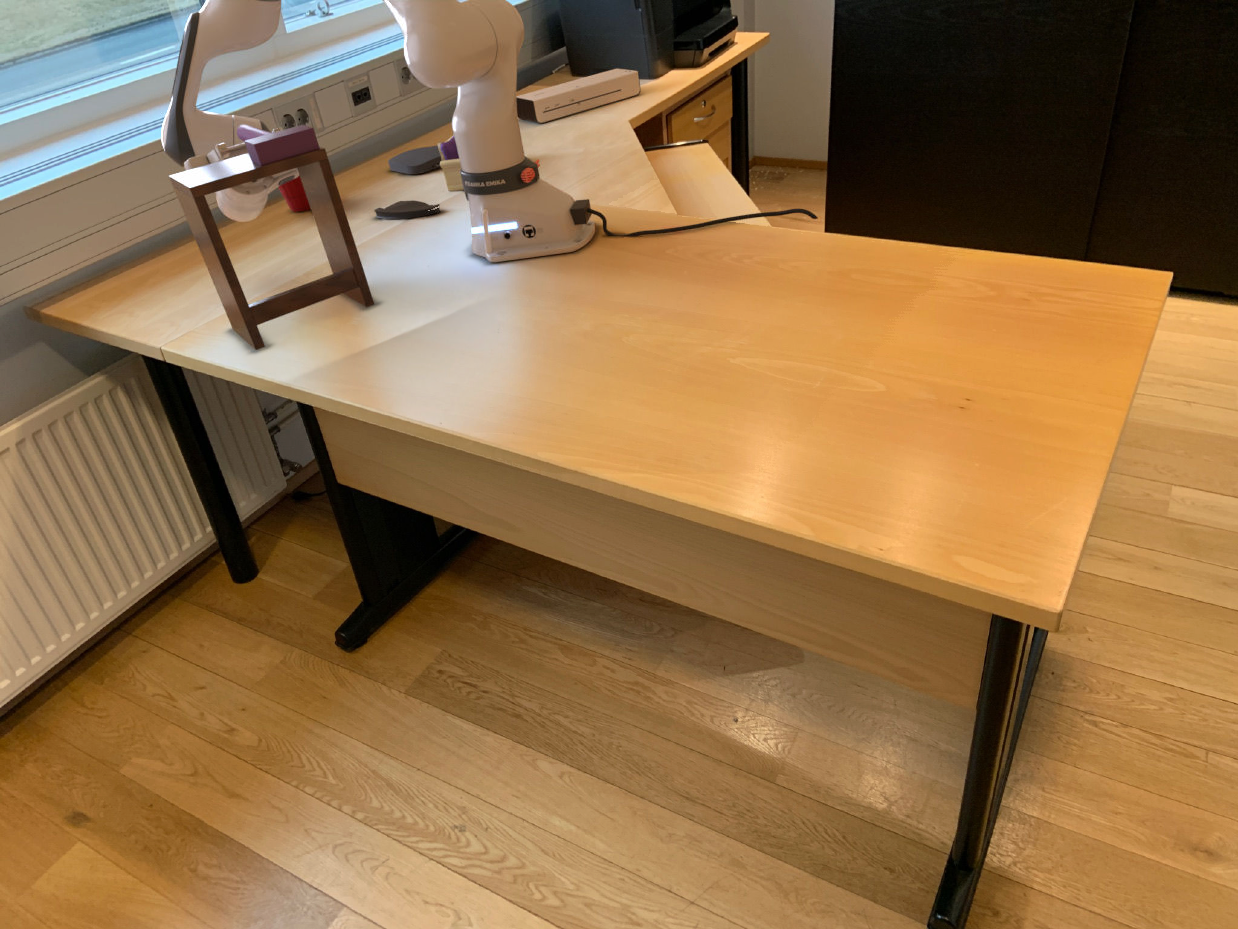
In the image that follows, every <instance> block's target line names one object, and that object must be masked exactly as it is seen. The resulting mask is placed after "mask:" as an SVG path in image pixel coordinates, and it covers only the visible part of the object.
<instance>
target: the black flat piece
mask: <svg viewBox="0 0 1238 929" xmlns="http://www.w3.org/2000/svg"><path fill="white" fill-rule="evenodd" d="M438 206H439V208H437V209H435V210H431V209H433V208H435V207H438ZM428 210H430V211H428ZM373 211H374V213H375V215H376V218H377V219H383V220H407V219H414V218H419V217H425V216H429V215H435V214H439V213H441V209H440V203H437V204H434V205H433V204H428V203H426V202H423V201H421V200H420V201H419V200H413V199H412V200H399V201H397V202H394V203H392V204H390V205H388V206H387V207H385V208H384V207H377V208H375V209H374V210H373Z"/></svg>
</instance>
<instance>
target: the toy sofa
mask: <svg viewBox="0 0 1238 929" xmlns="http://www.w3.org/2000/svg"><path fill="white" fill-rule="evenodd" d="M437 145H438V149H439V152H440V155H441V158H442V161H440V166H441V167H440V168H441V169H442V172H443V176H444V179H445V183H446V186H447V190H448V192H456V191H464V189H463V185H462V179H461V174H460V170H461V168H462V167H461V163H460V159H459V155H458V150H457V146H456V142H455V138H454V134H453V135H451V136H450V137H449V138H448V139H447V140H445V141H443V142H442V141H440V142H438V143H437Z"/></svg>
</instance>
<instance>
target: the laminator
mask: <svg viewBox="0 0 1238 929" xmlns="http://www.w3.org/2000/svg"><path fill="white" fill-rule="evenodd" d="M640 93H641V81H640V73H639V71H638V70H633V69H627V68H626V69H625V68H618V67H616V68H614V69H610V70H606V71H602V72H599V73H596V74H592V75H589V76H584V77H581V78H577V79H573V80H570V81H566V82H563V83H560V84H556V85H552V86H549V87H545V88H540V89H537V90H534V91H530V92H527V93H523V94H520V95H516V104H517V116H518V120H519V119H520V120H526V121H530V122H533V123H537V124H541V125H542V124H546V123H549V122H553V121H556V120H559V119H563V118H566V117H569V116H570V117H571V116H573V115H576V114H577V115H578V114H580V113H584V112H586V111H589V110H594V109H597V108H600V107H604V106H608V105H611V104H615V103H617V102H621V101H624V100H627V99H631V98H634V97H637V96H638V95H640Z"/></svg>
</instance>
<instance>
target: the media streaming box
mask: <svg viewBox="0 0 1238 929" xmlns="http://www.w3.org/2000/svg"><path fill="white" fill-rule="evenodd" d="M440 161H442V158H441V155H440V152H439V149H438V144H437V145H431V146H423V147H417V148H413V149H409V150H406V151H404V152H401V153H399V154H397V155H396V154H395V155H394V156H393V157H391V158H390V159H388V160H387V163H388V166H389V169H390V171H393V172H396V173H401V174H406V175H418V174H423V173H427V172H429V171H433V170H436V169H439V168H441V166H440Z"/></svg>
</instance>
